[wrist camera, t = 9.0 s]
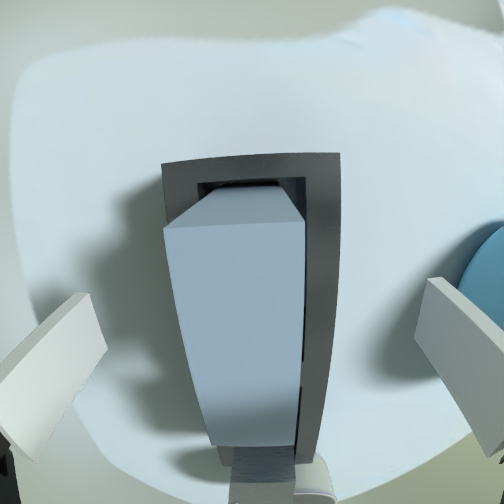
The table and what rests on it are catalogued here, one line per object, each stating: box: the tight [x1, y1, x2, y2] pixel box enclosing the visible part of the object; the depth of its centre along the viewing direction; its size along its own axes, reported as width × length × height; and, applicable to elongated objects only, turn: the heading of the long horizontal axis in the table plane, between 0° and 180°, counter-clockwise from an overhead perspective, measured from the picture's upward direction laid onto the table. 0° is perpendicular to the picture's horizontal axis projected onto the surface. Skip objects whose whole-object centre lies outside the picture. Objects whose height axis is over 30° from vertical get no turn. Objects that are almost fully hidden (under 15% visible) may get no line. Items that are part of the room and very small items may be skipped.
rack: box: [161, 153, 341, 504], centre depth 14 cm, size 23×8×11 cm, turn 4°
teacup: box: [228, 452, 337, 504], centre depth 22 cm, size 14×11×8 cm
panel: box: [163, 181, 305, 447], centre depth 12 cm, size 8×3×10 cm, turn 3°
